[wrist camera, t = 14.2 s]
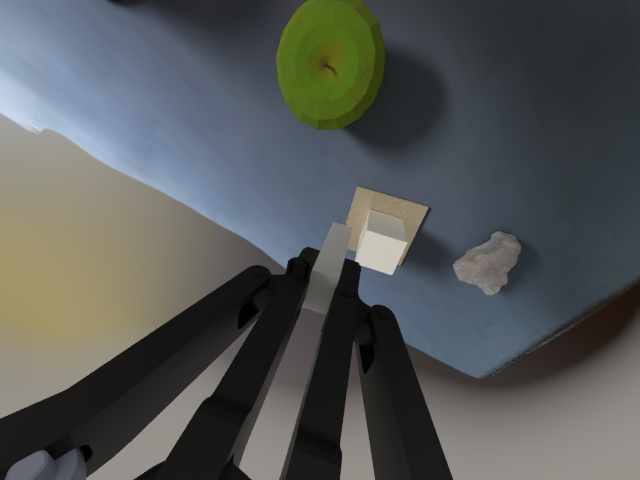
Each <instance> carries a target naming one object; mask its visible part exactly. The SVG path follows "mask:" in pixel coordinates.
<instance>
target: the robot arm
mask: <svg viewBox="0 0 640 480" xmlns="http://www.w3.org/2000/svg"><path fill="white" fill-rule="evenodd" d="M351 232H352V228H351V227H348V226H345V225H342V224H338V223H335V222H333V224H332V227H331V229H330V231H329V233H328V235H327V238H326V240H325V242H324V244H323V247H322V249H321V251H319V250H316V249H313V248H310V247H306V248H305V249H303V250H302V252H301V253H300V255H299V257H294V258H291V259H290V260H289V261H288V265H287V270H286V274H283V275H272V274H270V273H271V272H270V271H269V269H267V268H266V267H264V266H260V265H259V266H258V265H255V266H251V267H249V268H247V269H246V270H244V271H243V272H241V273H240V274H238V275H237V276H235V277H234V278H232V279H231V280H229V281H228V282H226V283H225V284H223V285H222V286H220V287H219V288H217V289H216V290H214V291H213V292H211V293H210V294H208V295H207V296H205V297H204V298H202V299H201V300H199V301H198V302H196V303H195V304H193V305H192V306H190V307H189V308H188V309H186V310H184V311H183V312H181V313H180V314H179V315H177V316H175V317H174V318H173V319H171V320H170V321H168V322H167V323H165V324H164V325H162V326H161V327H159V328H158V329H156V330H155V331H153V332H152V333H150V334H149V335H147V336H146V337H144V338H143V339H141V340H140V341H138V342H137V343H135V344H134V345H132V346H131V347H130V348H128V349H126V350H125V351H123V352H122V353H120V354H119V355H117V356H116V357H114V358H113V359H111V360H110V361H108V362H107V363H106V364H104V365H103V366H101V367H99V368H98V369H97V370H95V371H94V372H92V373H91V374H89V375H88V376H86V377H85V378H83V379H82V380H80V381H79V382H77V383H76V384H74V385H73V386H71V387H70V388H68V389H67V390H65V391H62V392H60V393H58V394H55V395H53V396H51V397H49V398H47V399H44V400H42V401H40V402H37V403H35V404H33V405H30V406H28V407H26V408H24V409H22V410H19V411H17V412H15V413H12V414H10V415H8V416H5V417H3V418H1V419H0V480H86V477H88V476H89V475H91V474H92V473H94V472H95V471H96V470H98V469H99V468H100V467H101V466H103V465H104V464H105V463H106V462H108V461H109V460H110V459H111V458H113V457H114V456H115V455H116V454H117V453H118V452H120V450H122V449H123V448H124V447H125V446H126V445H127V444H128V443H130V442H131V441H132V440H133V439H134V438H135V437H136V436H137V435H138V434H139V433H140V432H141V431H142V430H143V429H144V428H145V427H146V426H147V425H148V424H149V423H150V422H151V421H152V420H153V419H154V418H156V417H157V416H158V415H159V414H160V413H161V412H162V411H163V410H164V409H165V408H166V407H167V406H168V405H169V404H170V403H171V402H172V401H173V400H174V399H175V398H176V397H177V396H178V395H179V394H180V393H181V392H182V391H183V390H184V389H185V388H186V387H187V386H189V384H191V383H192V382H193V381H194V380H195V379H196V378H197V377H198V376H199V375H200V374H201V373H202V372H203V371H204V370H205V369H206V368H207V367H208V366H209V365H210V364H211V363H212V362H213V361H214V360H215V359H216V358H217V357H218V356H220V355H221V354H222V353H223V352H224V351H225V349H227V348H228V347H229V346H230V345H231V344H232V343H233V342H234V341H235V340H236V339H237V338H238V337H239V336H240V335H241V334H242V333H243V332H244V331H245V330H246V329H247V328H248V327H249V326H250V325H251V324H253V323H254V322H255V321H256V320H257V319H258V320H257V322H256V323H255V325H254V327H253V328H252V330H251V332H250V333H249V335H248V337H247V338H246V340H245V342H244V343H243V345H242V347H241V348H240V350H239V351H238V354H237V355H236V357H235V358H234V360H233V362H232V364H231V365H230V367H229V368H228V370H227V372H226V373H225V375H224V376H223V378H222V380H221V382H220V383H219V385H218V386H217V388H216V390H215V391H214V393H213V394H212V395H211V396H210V397H208V398H206V399H205V400H204V401H203V402H202V403H201V405H200V407H199V408H198V409H197V411H196V412H195V414H194V416H193V417H192V419H191V420H190V422H189V424H188V425H187V427H186V429H185V430H184V432H183V433H182V435H181V436H180V438H179V440H178V441H177V443H176V444H175V446H174V448H173V449H172V451H171V452H170V454H169V456H168V457H167V459H166V460H165V461H163V462H161V463H159V464H157V465H156V466H154V467H152V468H150V469H149V470H147V471H146V472H144V473H143V474H142V475H140V476H138V477H137V478H136V479H134V480H251V479H250V478H249V477H248V476H247V475H246V474H245V473H244V472H242V471H241V470H240V469H239V468H238V467H239V465H240V462H241V459H242V455H243V452H244V450H245V447H246V444H247V442H248V439H249V437H250V434H251V431H252V430H253V427H254V425H255V422H256V420H257V417H258V415H259V413H260V410H261V407H262V405H263V403H264V400H265V398H266V395H267V393H268V390H269V388H270V386H271V383H272V381H273V378H274V376H275V373H276V371H277V368H278V366H279V364H280V361H281V359H282V356H283V354H284V351H285V349H286V346H287V344H288V342H289V339H290V337H291V334H292V332H293V329H294V327H295V324H296V322H297V320H298V317H299V315H300V311H301V308H302V307H304V308H307V309H310V310H312V311H315V312H318V313H322V314H324V315H327V316H326V318H325V321H324V324H323V327H322V330H321V331H322V332H321V336H320V339H319V343H318V346H317V350H316V353H315V357H314V360H313V364H312V367H311V371H310V375H309V378H308V381H307V385H306V389H305V392H304V396H303V400H302V403H301V407H300V410H299V413H298V417H297V420H296V424H295V427H294V431H293V434H292V438H291V442H290V445H289V449H288V453H287V456H286V459H285V463H284V466H283V469H282V472H281V476H280V479H279V480H340V473H341V463H342V451H341V449H340V439H341V431H342V423H343V416H344V408H345V401H346V392H347V385H348V378H349V370H350V362H351V354H352V347H353V341H354V342H355V348H356V355H357V361H358V368H359V375H360V381H361V388H362V394H363V401H364V408H365V414H366V421H367V428H368V434H369V441H370V448H371V454H372V461H373V468H374V474H375V480H453V478H452V475H451V472H450V470H449V467H448V464H447V461H446V459H445V455H444V453H443V450H442V447H441V444H440V441H439V439H438V436H437V433H436V430H435V427H434V425H433V422H432V419H431V416H430V413H429V411H428V407H427V405H426V402H425V399H424V396H423V393H422V391H421V388H420V385H419V382H418V379H417V377H416V374H415V371H414V368H413V365H412V362H411V360H410V357H409V354H408V351H407V348H406V346H405V343H404V340H403V337H402V334H401V331H400V328H399V326H398V323H397V320H396V317H395V315H394V313H393V312H392V311H391V310H390V309H389V308H387V307H385V306H382V305H374V306H372V307H370V306H368V305H367V304H365V303H364V302H363V301H362V300H361V299H360V298H359V294H358V286H359V279H360V272H361V267H360V264H359V262H355V261H352V260H349V259H346V258H345V255H346V251H347V247H348V243H349V240H350V236H351ZM302 305H303V306H302Z"/></svg>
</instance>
